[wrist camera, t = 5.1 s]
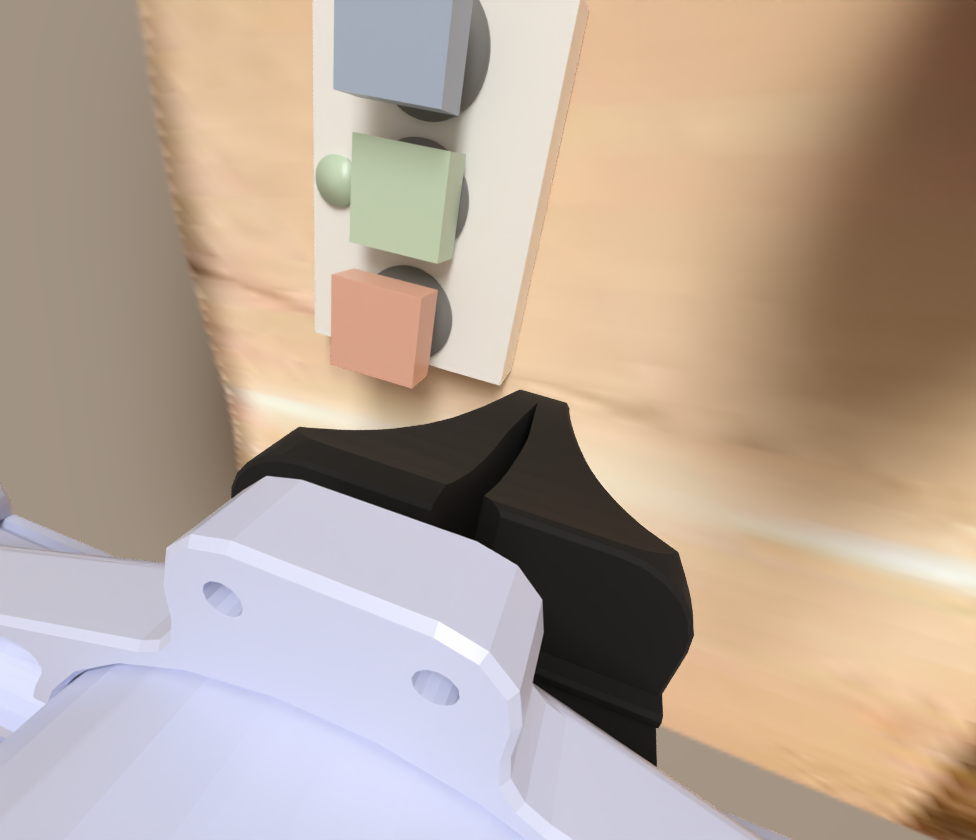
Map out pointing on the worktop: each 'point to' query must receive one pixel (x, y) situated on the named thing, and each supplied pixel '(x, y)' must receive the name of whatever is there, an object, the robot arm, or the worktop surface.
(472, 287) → the console
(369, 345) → the terracotta button
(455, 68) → the slate button
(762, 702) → the worktop surface
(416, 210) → the sage button
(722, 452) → the worktop surface
